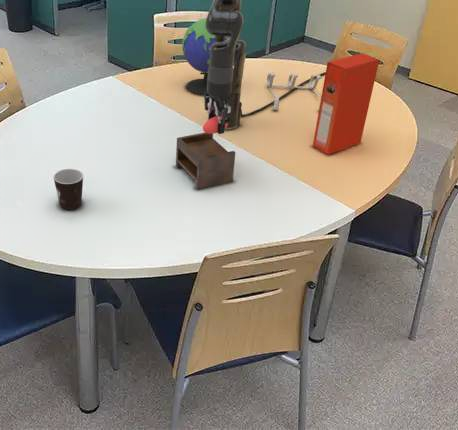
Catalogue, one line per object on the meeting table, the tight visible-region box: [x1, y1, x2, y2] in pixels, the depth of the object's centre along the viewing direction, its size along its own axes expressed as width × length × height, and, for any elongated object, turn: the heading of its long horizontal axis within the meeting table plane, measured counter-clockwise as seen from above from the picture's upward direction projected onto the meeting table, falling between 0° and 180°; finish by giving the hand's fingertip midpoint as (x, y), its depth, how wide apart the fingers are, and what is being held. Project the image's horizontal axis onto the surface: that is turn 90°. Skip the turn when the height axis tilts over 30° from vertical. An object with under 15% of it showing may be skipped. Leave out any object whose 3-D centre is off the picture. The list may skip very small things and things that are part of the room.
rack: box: [175, 132, 236, 191], centre depth 192 cm, size 13×16×11 cm
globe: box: [181, 17, 229, 97], centre depth 247 cm, size 22×22×30 cm
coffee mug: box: [53, 168, 84, 212], centre depth 173 cm, size 12×9×10 cm
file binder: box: [312, 53, 380, 155], centre depth 207 cm, size 8×17×32 cm, turn 125°
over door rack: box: [266, 72, 322, 111], centre depth 247 cm, size 22×29×10 cm
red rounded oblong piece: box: [202, 116, 228, 135], centre depth 184 cm, size 5×9×6 cm, turn 120°
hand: (215, 129), depth 185 cm, fingers closed on red rounded oblong piece, 5 cm apart
